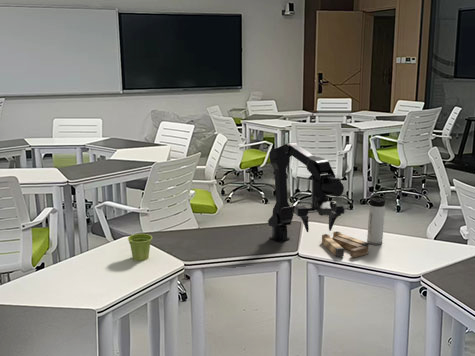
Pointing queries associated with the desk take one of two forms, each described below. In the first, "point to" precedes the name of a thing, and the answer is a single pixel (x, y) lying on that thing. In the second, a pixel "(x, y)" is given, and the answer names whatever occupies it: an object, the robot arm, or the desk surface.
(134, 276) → the desk surface
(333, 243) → the hinged leg
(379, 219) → the travel mug
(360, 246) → the tan rectangular beam
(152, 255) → the desk surface
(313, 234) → the desk surface
